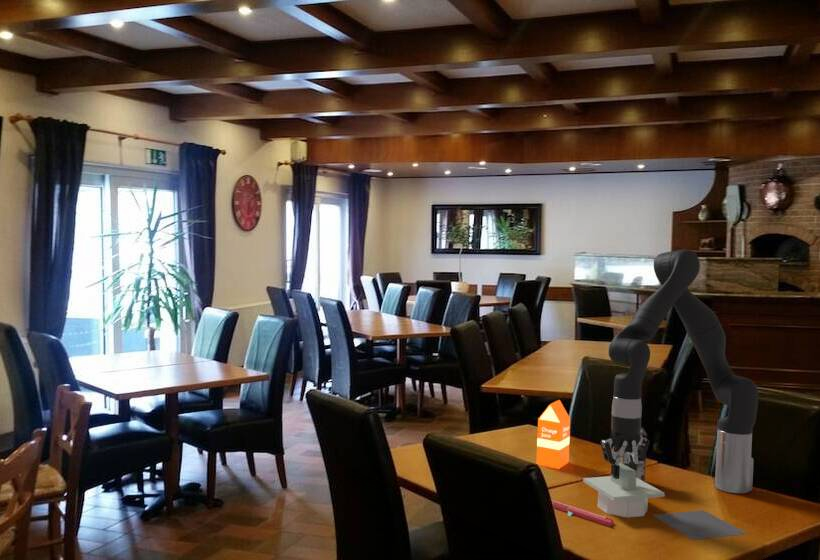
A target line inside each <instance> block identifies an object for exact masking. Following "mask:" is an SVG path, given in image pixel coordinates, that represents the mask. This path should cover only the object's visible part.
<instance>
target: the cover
mask: <svg viewBox="0 0 820 560" xmlns="http://www.w3.org/2000/svg"><path fill="white" fill-rule="evenodd" d="M619 465H620V472H619V479H615V478H613V476H612V475H611V474H610V475H608V476H606V475H605V476H596V477H595V476H594V477H582V479H583V480H582V481H583V483H584V484H586V485H588V486H589V487H591V488H592V489H594V490H596V491H597V492H598V491H599V492H600V493H602V494H603V495H605V496H607V497H608V498H610V499H611V500H613V501H620V500H632V499H643V498H648V499H652V498H654V499H655V498H665V492H663V491H662V490H660V489H658V488H656V487H654V486H652V485H651V484H649V483H647V482H646V481H645V482H644V481H642V480H640V479H638V478H636V472H637V471H635V470H633V469H631V468H629V467H628V466H626V465H624V464H622V463H621V462H620V463H619Z"/></svg>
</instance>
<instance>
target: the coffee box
mask: <svg viewBox="0 0 820 560" xmlns="http://www.w3.org/2000/svg"><path fill="white" fill-rule="evenodd" d="M639 434H640V437H641V438H642V437H643V438H646V439H648V434H647V432H646V430H645V428H644V427H641V432H640V433H639ZM638 446H639V443H638V445H637V446H636V448H637V449H638ZM629 462H630V460H629V456H628V453H627V452H625V453H624V454H623V457H622V458H621V460H620V463H622V464H624V465H626V466H628V467H629ZM646 462H647V455H646V456H645V459H644V461H640V462H638V464H637V474H636V478H638V479H640V480H642V481H644V482H646V481H645V480H646V464H647V463H646Z"/></svg>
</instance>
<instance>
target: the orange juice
mask: <svg viewBox="0 0 820 560" xmlns="http://www.w3.org/2000/svg"><path fill="white" fill-rule="evenodd" d="M570 438H571V417H570V416H569V414H568V413H567V410H566V409H565V407H564V404H563V403H562V401H561V400H560V399H558V400H555V401H554V402H552V403H550V404H549V405H548V406H547V407H546V409H545V410H544V411H543V412H542V414H541V415H540V416H539V417H538V418H537V437H536V461H535V462H536V464H538V466H542V467H545V468H546V467H547V468H552V469H557V470H560V469H561V468H562V467H564V466H565V465H567V464H568V463H569V459H570V440H571V439H570Z"/></svg>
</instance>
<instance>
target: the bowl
mask: <svg viewBox="0 0 820 560" xmlns="http://www.w3.org/2000/svg"><path fill="white" fill-rule="evenodd" d="M648 499H649V498H643V499H632V500H620V501H613V500H611V499H610V498H608V497H607V496H605V495H603V494H602V493H600V492H599V491H597V508H598V509H600V510H602V511H603V512H604V513H606V514H607V515H612V516H618V517H623V518H635V517H644V516H645V515H646V513H647V512H648V501H649V500H648Z"/></svg>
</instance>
